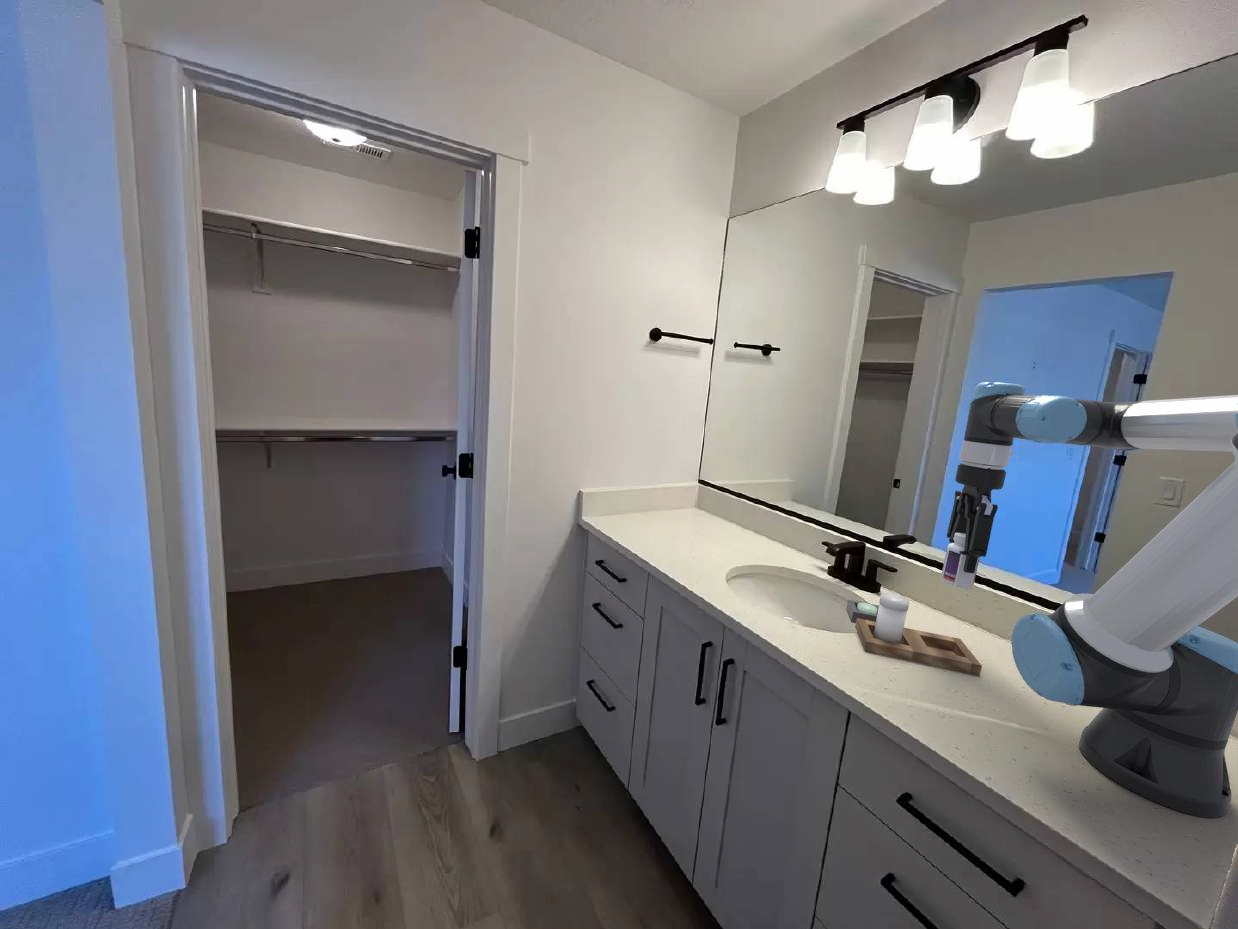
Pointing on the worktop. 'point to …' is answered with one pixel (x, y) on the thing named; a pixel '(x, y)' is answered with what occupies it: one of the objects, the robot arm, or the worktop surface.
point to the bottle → (891, 617)
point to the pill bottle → (954, 559)
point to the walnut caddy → (921, 648)
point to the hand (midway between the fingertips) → (957, 581)
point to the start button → (867, 608)
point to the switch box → (859, 612)
